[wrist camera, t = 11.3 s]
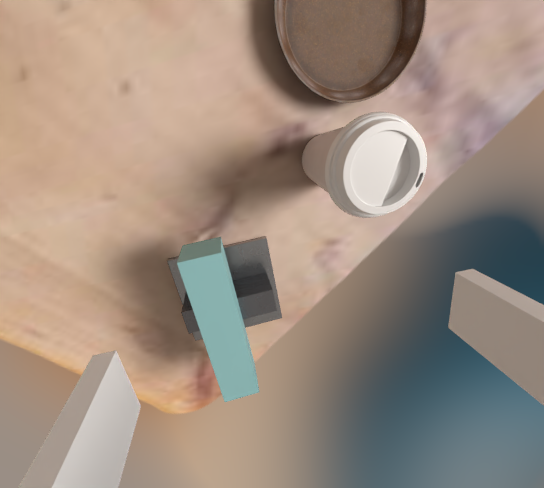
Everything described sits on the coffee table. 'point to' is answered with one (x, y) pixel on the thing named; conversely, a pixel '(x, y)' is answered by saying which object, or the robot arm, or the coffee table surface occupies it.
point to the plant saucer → (349, 43)
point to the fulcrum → (240, 284)
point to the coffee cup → (368, 164)
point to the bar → (219, 316)
